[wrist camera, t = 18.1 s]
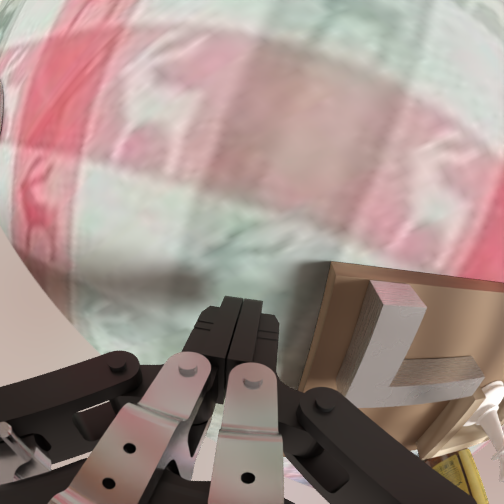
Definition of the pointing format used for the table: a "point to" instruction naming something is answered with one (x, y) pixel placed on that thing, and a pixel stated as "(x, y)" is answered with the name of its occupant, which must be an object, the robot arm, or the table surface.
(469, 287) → the socket board
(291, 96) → the table surface
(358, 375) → the keeper bolt
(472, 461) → the sauce bottle
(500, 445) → the chess piece
